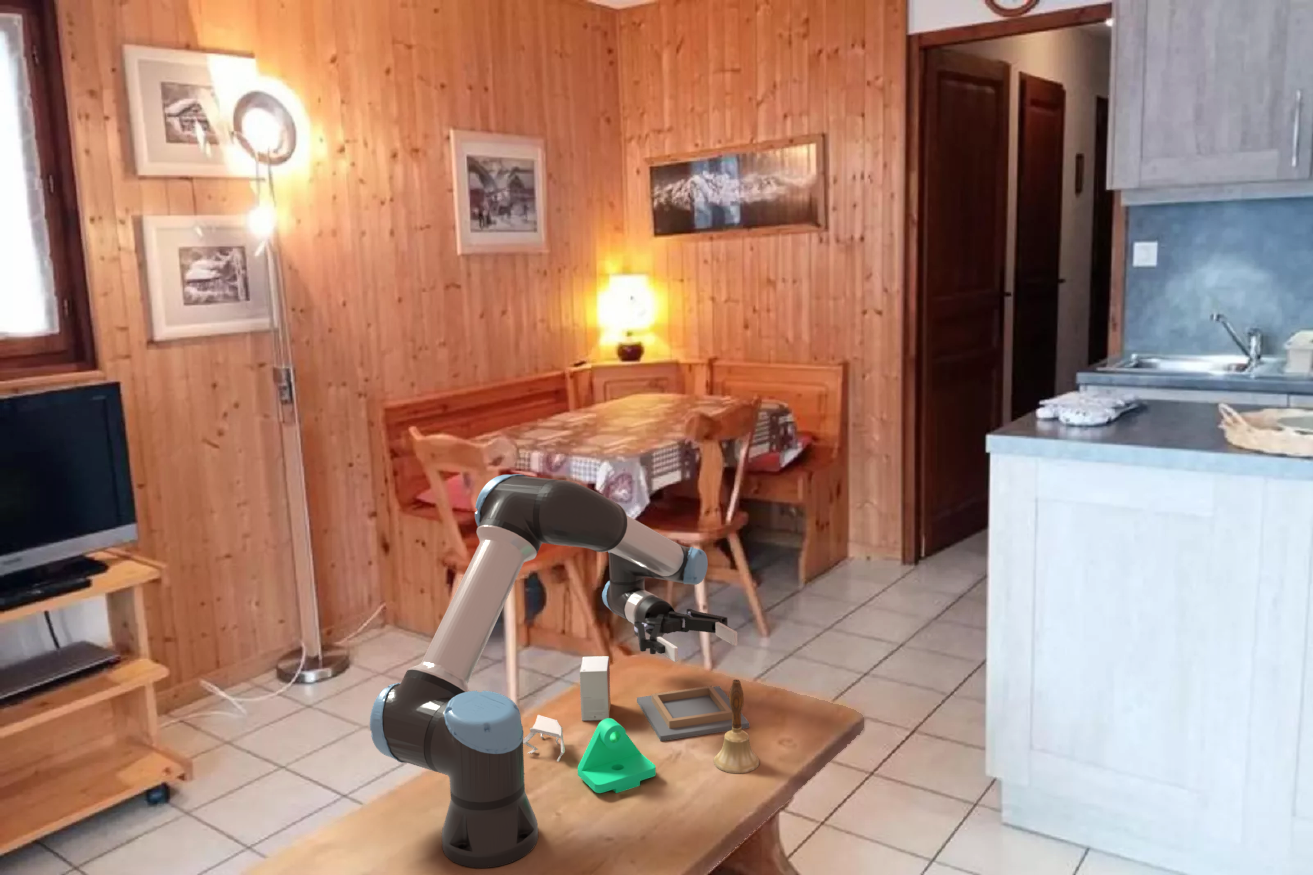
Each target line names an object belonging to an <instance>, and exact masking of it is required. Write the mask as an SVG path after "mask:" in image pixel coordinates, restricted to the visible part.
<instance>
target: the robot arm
mask: <svg viewBox="0 0 1313 875" xmlns="http://www.w3.org/2000/svg"><path fill="white" fill-rule="evenodd" d="M475 509H476V512H474V519H475V523H476V526H477V528H476V535H477V538H478V540H479V544H478V546H477V547H476V549H475V552H474V554H473V556H472V558H471V560H470V562H469V564H468V566H467V569H466V570H465V572H464V575H463V577H462V579H461V581H460V583H459V585H458V587H457V589H456V591H455V593H454V595H453V597H452V599H451V601H450V603H449V604H448V607H447V609H446V611H445V613H444V615H443V617H442V619H441V621H440V623H439V625H438V628H437V629H436V631H435V634H434V636H433V637H432V639H431V642H430V643H429V646H428V648H427V650H426V652H425V654H424V656H423V658H422V661H421V662H420V663H419V664H417V665H414V666H411V667H409V668H407V670H406V672H405V674H404V676H403V678H402V679H401V682H396V683H392V684H389V685H387V687H384V688H383V689H382V690H381V691H380V692H379V693H378V694H377V696H376V698H375V700H374V702H373V705H372V708H371V711H370V717H369V729H370V732H371V734H370V737H371V740H372V743H373V744H374V747H375V748H376V749H377V750H378V752H379V753H380V754H383V755H384V756H386V757H389V758H391V759H394V760H396V761H397V762H398V763H400V764H401V763H402V764H403V763H405V764H407V763H408V764H409V765H412V766H417V767H419V768H422V769H423V768H424V769H426V770H428V771H429V770H430V771H432V772H435V773H440V774H442V775H446V776H448V779H449V789H450V790H449V792H450V801H449V804H448V805H449V806H448V808H447V813H446V815H445V819H444V823H443V827H442V830H441V846H442V851H443V853H444V855H445V857H447V858H448V860H450V861H451V862H453V863H455V864H458V865H461V866H463V867H468V868H474V869H475V868H476V869H477V868H479V869H480V868H482V869H485V868H494V867H500V866H504V865H507V864H510V863H513V862H516V861H518V860H520V859H521V858H523V857H525V856H526V855H527V854H529V853H530V852H531V851H532V850H533V849H534V847H535V846H536V844H538V843H537V842H538V840H539V827H538V820H537V817H536V814H535V813H534V810H533V808H532V807H533V806H532V805H531V803H530V800H529V797H528V795H527V793H526V788H525V787H526V786H525V785H526V784H525V765H524V764H525V761H524V756H525V755H524V744H523V739H524V728H523V724H522V716H521V712H520V708H519V707H518V705H517V703H516V702H514V701H513V700H512V699H511V698H509V697H508V696H506V695H505V694H502V693H499V692H496V691H495V692H494V691H490V690H482V691H477V690H471V691H470V688H469V686H468V684H469V682H470V679H471V678H472V676H473V674H474V671H475V669H476V667H477V665H478V662H479V660H480V658H481V657H482V653H483V651H484V649H485V648H486V646H487V643H488V641H489V639H490V636H491V635H492V632H493V630H494V627H495V626H496V623H497V621H498V619H499V617H500V615H501V612H502V611H503V609H504V606H505V604H506V602H507V599H508V598H509V595H510V593H511V592H512V589H513V586H514V584H515V582H516V580H517V578H518V576H519V573H520V572H521V570H522V567H523V565H524V563H526V562H529V561H532V560H534V559H535V558H536V557H537V554H538V553H539V551H540V548H541V547H542V545H543V544H549V545H556V546H565V547H566V546H567V547H575V548H585V549H589V550H592V551H594V552H598V553H606V552H608V565H609V580H608V581H607V582H606V584H605V585H604V587H603V591H602V593H601V597H602V598H601V599H602V602H603V604H604V605H605V606H606V608H608V609H609V610H610V611H611V612H612V613H613V614H614V615H616V616H618V617H621V618H622V619H625V620H626V621H628V622H629V623H631V624H632V625H633V628H634V632H633V633H634V635H635V636H636V637H637V640H638V645H639V651H640V652H646V651H647V650H648V649H649V654H650V655H655V654H657V653H658V654H661V655H663V656H665V657H667V659H670V660H671V661H673V662H674V663H677V662H679V647H678V646H676V645H674V644H673V643H671V642H670V641H668V640H666V639H665V638H663V636H664V635H665V634H667V635H668V634H672V633H676V632H679V633H688V632H689V631H693V632H703V633H712V634H715V637H718V638H719V639H721V640H723V641H724V642H727V643H729V644H730V645H732V646H734V647H736V646H738V631H737V630H734V629H733V628H732V627H730V626H729V625H728V622H729V621H728V617H726V616H723V615H717V614H712V613H706V612H702V611H698V610H694V609H693V608H687V609H686V613H681V612H677V611H676V610H675V609H674V608H673V606H672V605H671V604H670V603H669V602H668V601H666V600H663V599H662V598H660V597H659V596H657V595H656V594H653V593H652V592H649V591H648V590H646V589H645V580H646V579H645V578H649V579H656V580H664V581H668V582H674V583H679V584H683V585H694V586H695V585H700V583H702V582H703V581H704V580H705V577H706V575H707V571H708V556H707V554H706V552H705V551H704V550H703V549H702V548H701V549H700V548H695V547H694V546H690V547H689V546H685V545H681V543H678V542H675V541H674V540H672V539H671V538H668V537H667V536H665V535H663V534H662V533H659V532H658V531H656V530H654V529H652V528H650V527H649V526H647V525H645V524H643V523H641V522H640V521H639V520H637V519H634V518H633V517H631V516H629V515H628V513H627V512H626V510H625V509H624V508H623V507H622V506H621V505H620V504H619V503H617V502H615V501H614V500H612V499H610V498H608V497H606V496H604V495H603V494H601V493H599V492H598V491H595V490H593V489H591V488H589V487H588V486H585V485H582V484H579V483H577V482H573V481H571V480H566V479H564V480H563V479H556V478H555V479H554V478H547V477H546V478H545V477H535V476H528V475H526V474H517V473H516V474H515V473H514V474H502V475H501V474H500V475H497V476H496V477H494V478H492V479H490V480H489V481H488V482H487V483H486V484H485V485H484V486H483V488H482V489H481V490H480V492H479V494H478V497H477V499H476V502H475ZM646 634H648V635H650V636H649V638H648V639H647V636H646Z"/></svg>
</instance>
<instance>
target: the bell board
mask: <svg viewBox="0 0 1313 875" xmlns="http://www.w3.org/2000/svg"><path fill="white" fill-rule="evenodd" d="M636 703H637V705H638V706H639V708H640V709H641V711H642V713H643V714H644V716H645V718H646V720H647V721H648V723H649V725H650V726H651V727H652V729H653V731H654V733H655V734H656V736H657V738H658V740H659V741H660V742H663V741H664V742H665V741H671V740H677V739H683V738H684V739H685V738H691V737H698V736H704V735H710V734H715V733H716V734H717V733H723V732H728V731H730V730H732V709H731V706H730V700H729V696H728V695H727V693H726V692H725V691H724V690H723V689H722V688H721V686H719V685H717V686H713V685H708V686H707V685H706V686H699V687H693V688H685V689H679V690H670V691H663V692H656V693H651V695H644V696H637V697H636ZM749 728H750V722H749V721H748V720H747V718H746V717H745V716H744V715H743V713H742V712H741V730H744V729H749Z"/></svg>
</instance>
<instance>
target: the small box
mask: <svg viewBox="0 0 1313 875" xmlns="http://www.w3.org/2000/svg"><path fill="white" fill-rule="evenodd" d="M610 670H611V668H610V657H609V656H605V655H604V656H603V655H601V656H600V655H599V656H597V655H596V656H593V655H592V656H582V660H581V665H580V669H579V687H580V688H579V689H580V690H579V691H580V692H579V695H580V696H579V697H580V713H581V717H580V718H581V721H582V722H583V721H584V722H585V721H587V722H588V721H602V720H604V719H607V718H610V710H611V677H610V675H611V672H610Z"/></svg>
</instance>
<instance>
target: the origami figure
mask: <svg viewBox="0 0 1313 875" xmlns="http://www.w3.org/2000/svg"><path fill="white" fill-rule="evenodd" d="M528 729H529V731H530V732H529V733H528V734H527V735H526V736H525V737H523V745H525V746H527V747H529V748H532V750H530V751H528V752H527V754H528V753H529V755H531V754H533V753H534V752H536V751H537V750H539V748H537V747H536V746H534V745H532V744H531V743H530V742H529V741H531V739H532V738H534V736H535V735H537V734H540V738H541V739H544V738H545V737H544V736H543V735H545V736H550V737H554V738H556V739H555V742H556V744H557V745H560V753H559V756H558V758H557V759H556V762H560V760H561V758H562V756H563V755H564V754H565V752H566V750H565V742H564V741H565V740H564V731H563V726H561V725H560V723H559V722H558V719H554V718H551V717H546V716H544V715H540V714H537V716H536V719H535V723H534V724H533V726H532V727H529V728H528ZM559 739H560V742H559ZM530 753H531V754H530Z"/></svg>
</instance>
